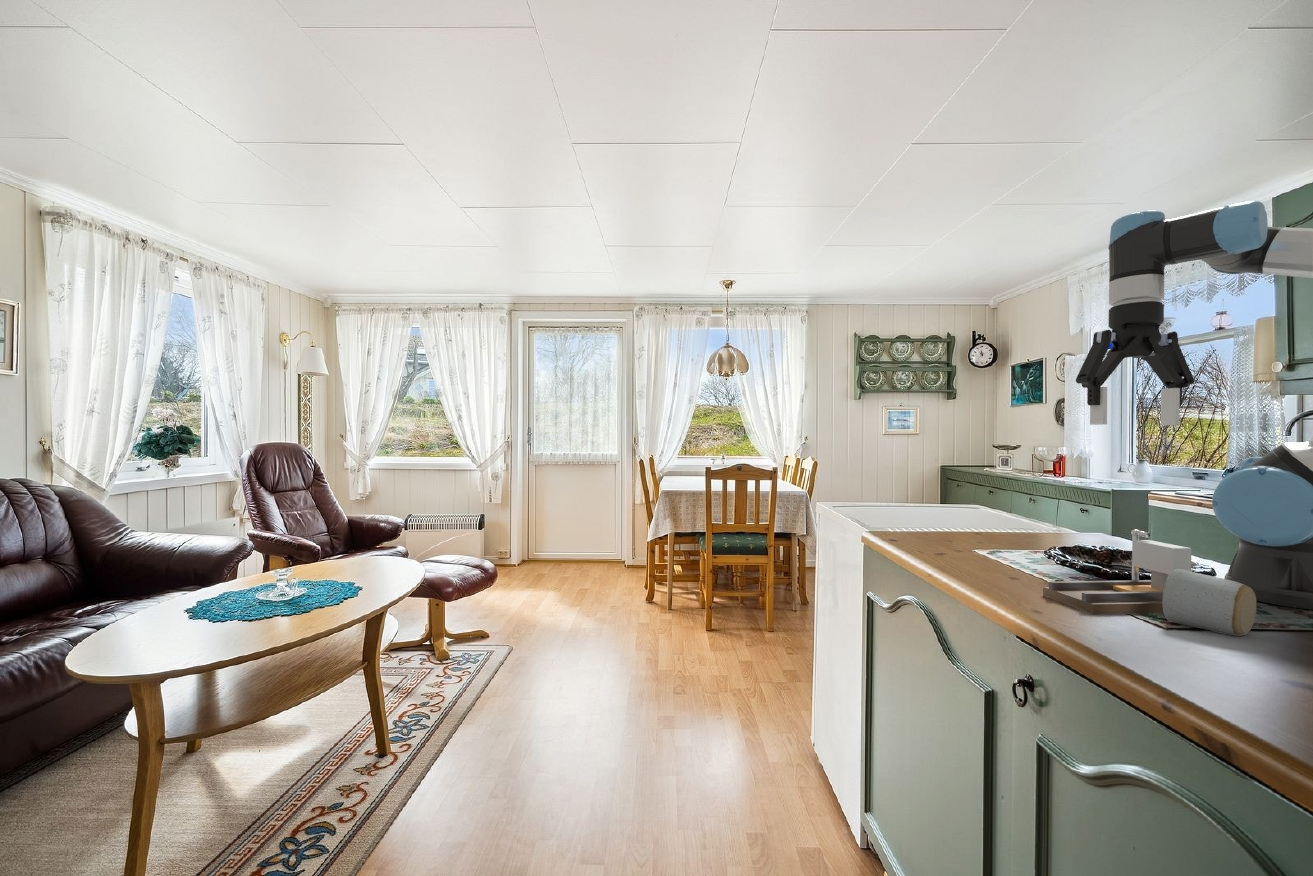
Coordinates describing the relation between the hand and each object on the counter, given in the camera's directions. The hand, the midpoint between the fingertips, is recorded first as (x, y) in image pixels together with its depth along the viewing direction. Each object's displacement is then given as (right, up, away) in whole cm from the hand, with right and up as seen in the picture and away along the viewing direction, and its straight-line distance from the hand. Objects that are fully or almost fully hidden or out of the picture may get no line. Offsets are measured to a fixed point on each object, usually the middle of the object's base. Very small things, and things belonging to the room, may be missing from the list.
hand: (1134, 425), depth 102 cm
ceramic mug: (-7, -29, -21) cm, 36 cm away
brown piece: (-10, -29, -10) cm, 32 cm away
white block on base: (-4, -27, -9) cm, 29 cm away
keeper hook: (-4, -27, -6) cm, 28 cm away
